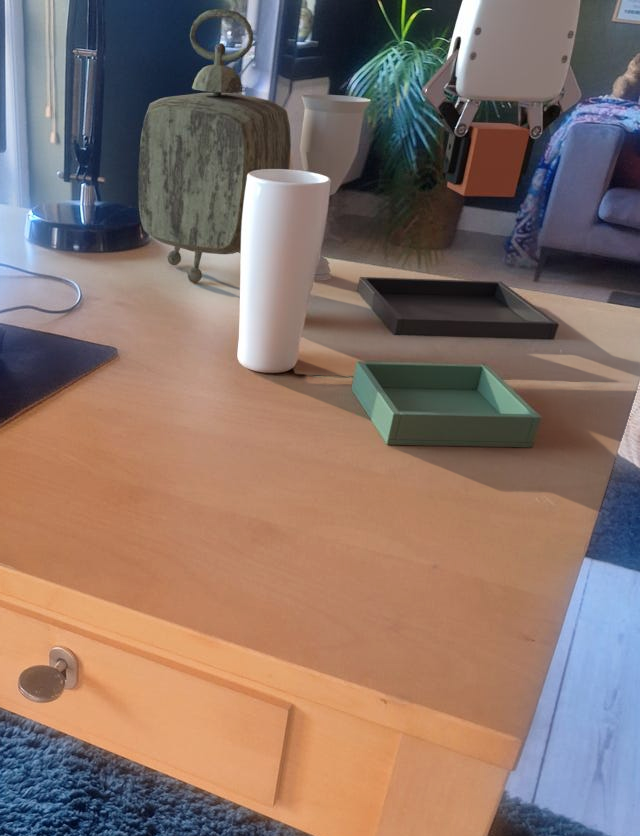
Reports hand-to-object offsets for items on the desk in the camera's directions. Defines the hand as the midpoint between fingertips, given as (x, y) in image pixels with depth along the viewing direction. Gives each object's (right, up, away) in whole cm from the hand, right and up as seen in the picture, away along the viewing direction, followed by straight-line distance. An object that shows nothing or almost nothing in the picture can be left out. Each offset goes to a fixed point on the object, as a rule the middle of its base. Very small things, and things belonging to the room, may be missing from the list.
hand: (482, 180), depth 85 cm
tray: (-9, -27, -15) cm, 32 cm away
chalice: (-14, -2, +17) cm, 22 cm away
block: (0, -1, +1) cm, 1 cm away
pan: (-1, -11, +7) cm, 13 cm away
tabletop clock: (-27, -4, +15) cm, 31 cm away
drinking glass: (-22, -20, -7) cm, 31 cm away
